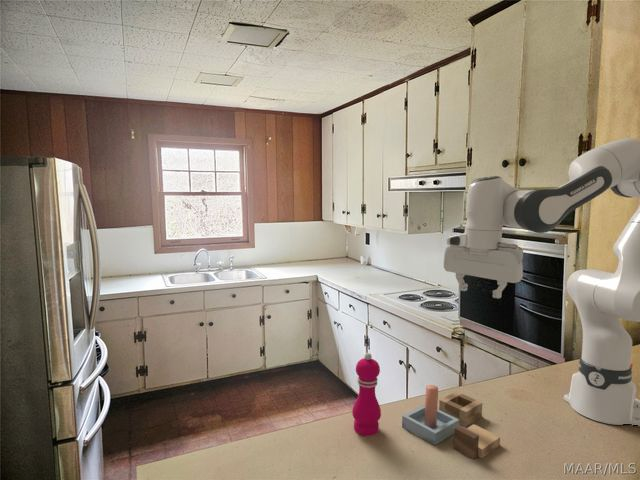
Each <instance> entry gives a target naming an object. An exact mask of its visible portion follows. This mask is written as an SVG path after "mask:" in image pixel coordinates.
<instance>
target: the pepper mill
mask: <svg viewBox="0 0 640 480" xmlns="http://www.w3.org/2000/svg"><path fill="white" fill-rule="evenodd" d="M372 357H373V356H372V354H371V353H369V352H366V353H365V354H364V357H363V358H361V359H359V360H358V362H356V365H355V373H356V375H357V379H356V380H357V381H356V382H357V384H358V385H359V389H358V390H359V391H358V395H357V396H356V397H357V398H356V399H355V401H354V403H353V406H352V409H351V410H352V411H351V412H352V416H353V418H354V421H353V430H354V431H355V433H357V434H359V435H361V436H366V437H367V436H368V437H369V436H374V435H376V434H377V433H379V426H380V425H379V421H380V419H381V416H382V412H381V406H380V404H379V401H378V399H377V397H376V396H377V395H376V387H377V385H378V381H379V380H378V377H379V375H380V373H381V368H380V364H379V362H377V361H376V360H375V359H373V358H372Z"/></svg>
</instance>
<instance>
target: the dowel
mask: <svg viewBox="0 0 640 480" xmlns="http://www.w3.org/2000/svg"><path fill="white" fill-rule="evenodd" d="M438 401H439V387H438V386H437V385H434V384H427V385H426V386H425V403H424V405H425V421H424V425H426V426H427V427H429V428H436V426H437V409H438V406H439V405H438V403H439V402H438Z"/></svg>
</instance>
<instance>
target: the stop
mask: <svg viewBox="0 0 640 480" xmlns="http://www.w3.org/2000/svg"><path fill="white" fill-rule="evenodd" d="M453 435H454V437H453V449H454V450H456V451H457V452H460V454H462V455H464V456H467V457H469V458H470V459H475V458H477V457H479V456H478V444H479V435H478V434H476V433H474V432H472V431H470V430H467V429H466V427H464V426H462V425H459V426H458V427H456V428H455V433H454V434H453Z"/></svg>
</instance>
